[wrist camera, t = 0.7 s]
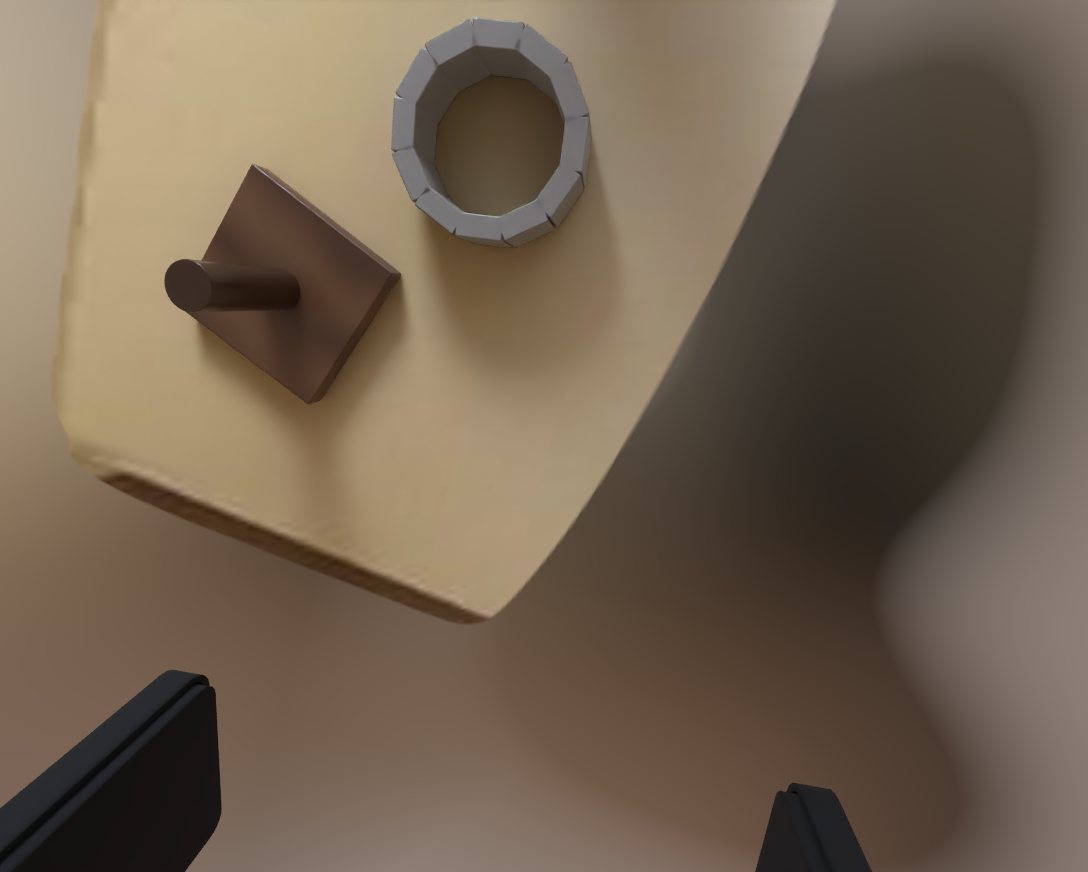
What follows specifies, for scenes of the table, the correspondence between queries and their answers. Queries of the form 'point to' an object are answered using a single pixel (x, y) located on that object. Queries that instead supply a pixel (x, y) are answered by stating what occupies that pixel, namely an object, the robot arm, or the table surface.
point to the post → (283, 285)
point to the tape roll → (457, 67)
